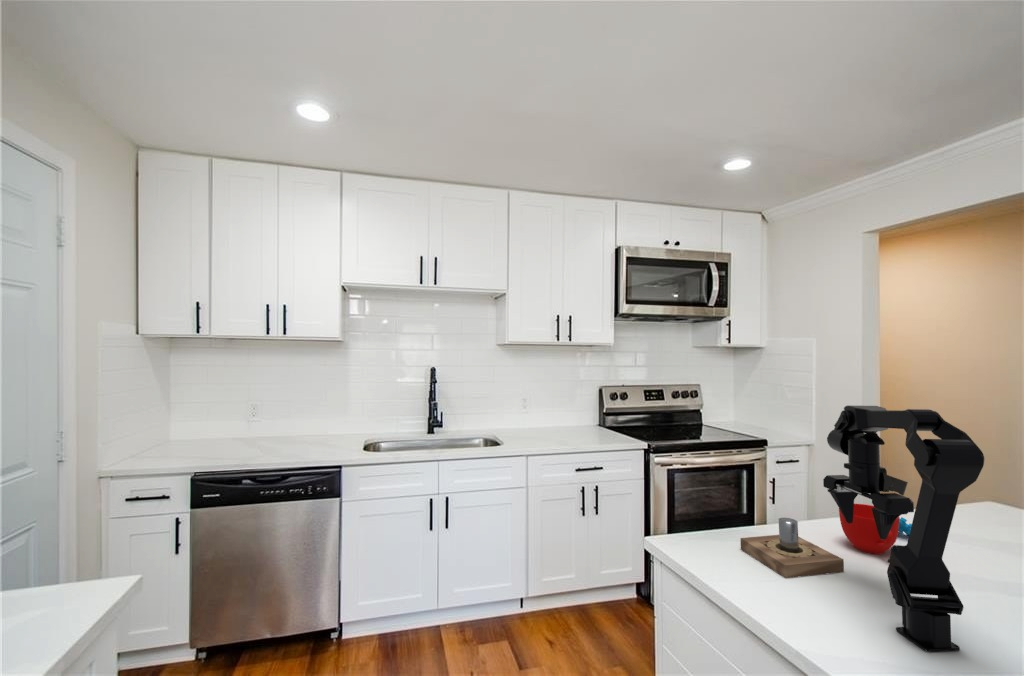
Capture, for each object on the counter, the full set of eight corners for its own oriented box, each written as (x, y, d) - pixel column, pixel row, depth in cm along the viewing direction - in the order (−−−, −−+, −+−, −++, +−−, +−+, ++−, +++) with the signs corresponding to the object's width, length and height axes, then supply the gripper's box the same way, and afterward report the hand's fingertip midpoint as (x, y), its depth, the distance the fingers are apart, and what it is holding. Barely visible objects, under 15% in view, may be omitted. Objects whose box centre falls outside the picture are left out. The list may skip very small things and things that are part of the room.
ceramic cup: (860, 563, 116) (859, 523, 116) (831, 537, 132) (830, 501, 132) (921, 569, 113) (920, 528, 113) (883, 541, 129) (882, 505, 129)
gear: (929, 536, 128) (901, 511, 128) (917, 553, 127) (889, 527, 127) (893, 527, 139) (868, 503, 139) (882, 542, 138) (857, 518, 138)
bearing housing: (843, 571, 112) (843, 559, 112) (785, 578, 109) (785, 565, 109) (792, 544, 127) (792, 533, 127) (740, 549, 125) (740, 538, 125)
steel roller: (800, 565, 115) (798, 524, 115) (781, 562, 117) (779, 522, 117) (798, 557, 119) (796, 518, 119) (779, 555, 121) (777, 516, 121)
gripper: (938, 471, 95) (940, 547, 95) (864, 451, 114) (866, 514, 114) (886, 472, 95) (888, 549, 94) (821, 452, 113) (822, 516, 113)
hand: (865, 530), depth 104 cm, fingers open, 9 cm apart
